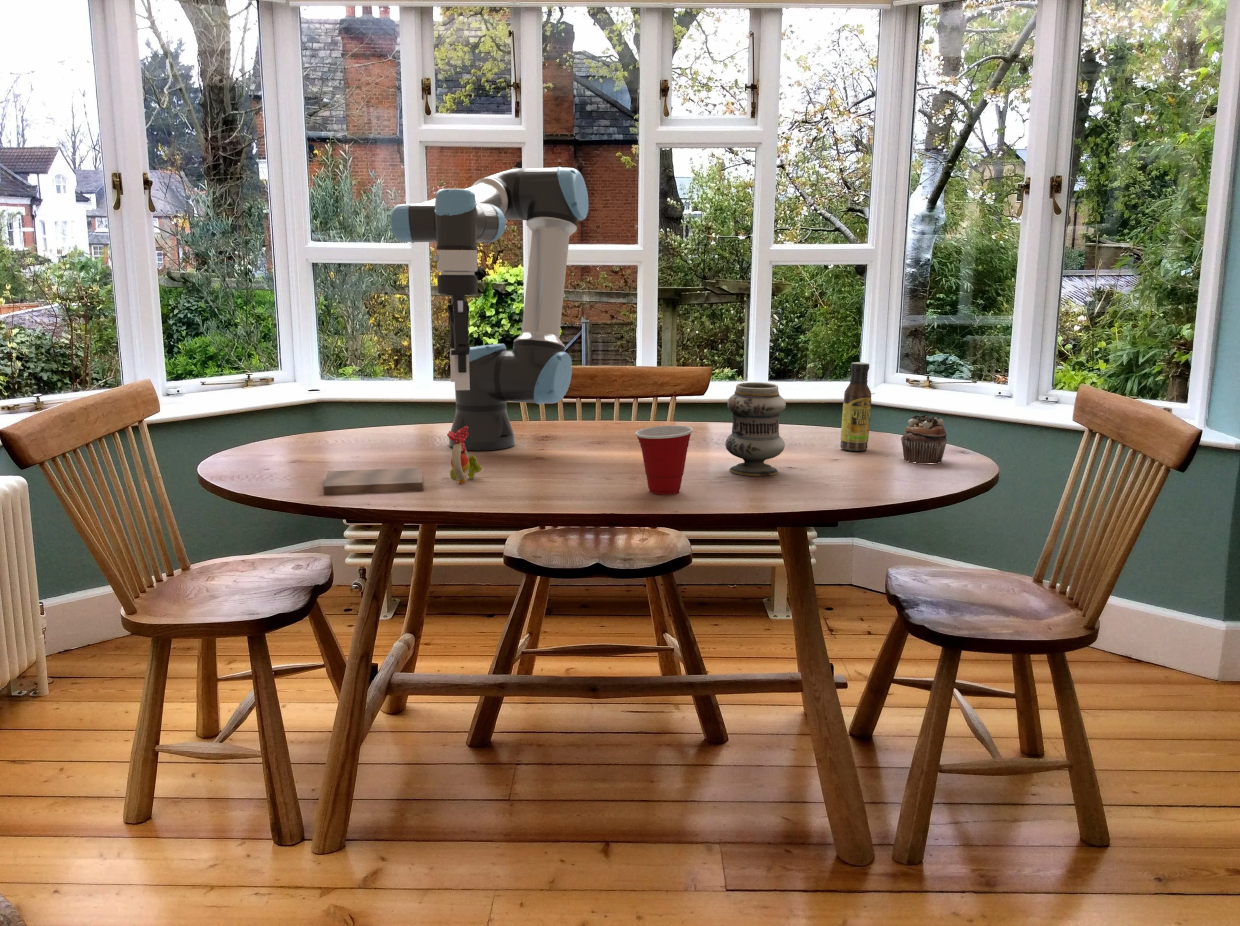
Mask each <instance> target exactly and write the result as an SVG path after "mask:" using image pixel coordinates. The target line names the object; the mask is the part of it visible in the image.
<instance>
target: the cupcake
mask: <svg viewBox="0 0 1240 926" xmlns="http://www.w3.org/2000/svg"><path fill="white" fill-rule="evenodd" d="M907 423H908V425H907V426H906V427H905V432H904V434H903V435H902V437H901V438H900V440H901V445H902V453H903V461H904V460H906V461H909V462H908V463H910V462H916V463H937V464H939V463H938V462H941V463H942V461H943V458H944V453H945V449H946V446H947V444H948V443H947V442H948V441H947V439H948V438H947V436H948V435H947V432H946V429H945V426H944V420H943V419H942V418H940V417H939V416H938V417H937V416H936V417H934V416H932V417H930V416H929V415H928V414H923V415H921V416H918V415H914V416H911V419H909V420H907ZM906 461H905V462H906ZM916 463H915V464H916Z"/></svg>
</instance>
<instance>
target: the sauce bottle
mask: <svg viewBox="0 0 1240 926" xmlns="http://www.w3.org/2000/svg"><path fill="white" fill-rule="evenodd" d="M869 370H870V363H869V362H863V361H856V362H851V363H850V379H849V384H848V386H847V387H846V389H845V391H844V393H843V394H844V396H843V403H842V415H841V416H842V417H841V429H840V449H842V450H845V451H852V452H855V451H856V452H863V451H867V449H868V443H869V437H870V423H871V422H870V421H871V409H872V392H871V389H870V388H869V386H868V377H869V375H868V374H869Z"/></svg>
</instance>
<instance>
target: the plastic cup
mask: <svg viewBox="0 0 1240 926" xmlns="http://www.w3.org/2000/svg"><path fill="white" fill-rule="evenodd" d="M692 433H693V427H691V426H686V425H658V426H650V427H646V428H645V427H644V428H642V429H639V430H636V431H635V433H634V436H636V437H637V439H638V442H639V444H640V448H641V453H642V459H643V465H644V466H643V467H644V469H645V470H644V471H645V475H646V483H647V487H648V491H649V493H650V494H655V495H663V496H664V495H665V496H668V495H675V494H678V493H680V489H681V487H682V481H683V475H684V472H685V466H686V460H687V453H688V448H689V445H690V444H689V443H690V439H691V435H692Z"/></svg>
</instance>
